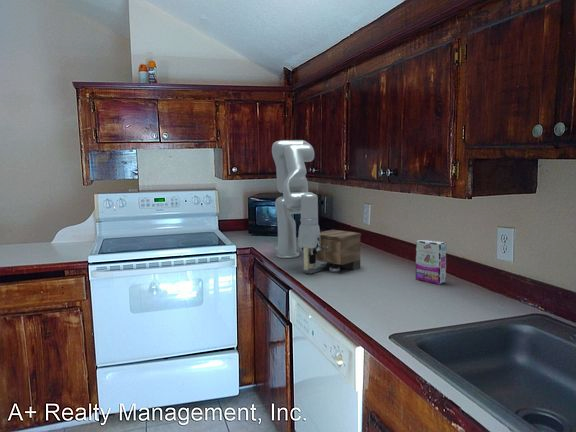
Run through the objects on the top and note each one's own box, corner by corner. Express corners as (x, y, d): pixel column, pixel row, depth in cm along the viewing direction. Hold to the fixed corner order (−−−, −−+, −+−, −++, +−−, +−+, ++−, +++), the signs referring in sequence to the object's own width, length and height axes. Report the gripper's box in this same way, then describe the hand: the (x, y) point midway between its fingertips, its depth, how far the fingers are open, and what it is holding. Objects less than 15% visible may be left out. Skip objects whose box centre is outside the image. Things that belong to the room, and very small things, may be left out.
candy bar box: (446, 282, 172) (447, 242, 170) (439, 285, 168) (440, 243, 166) (421, 277, 180) (422, 238, 178) (414, 279, 177) (415, 240, 175)
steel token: (329, 272, 192) (328, 269, 192) (329, 269, 197) (329, 266, 197) (340, 271, 192) (340, 268, 191) (340, 268, 197) (340, 265, 196)
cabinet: (311, 268, 199) (311, 234, 197) (333, 262, 210) (333, 229, 208) (339, 274, 187) (339, 238, 185) (361, 267, 198) (361, 233, 196)
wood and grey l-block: (302, 272, 191) (302, 246, 190) (326, 266, 202) (326, 242, 201) (309, 273, 188) (308, 248, 187) (332, 267, 199) (332, 243, 198)
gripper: (290, 221, 192) (291, 261, 194) (317, 224, 180) (318, 267, 183) (302, 219, 197) (303, 258, 199) (329, 222, 186) (329, 264, 188)
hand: (310, 262), depth 191 cm, fingers closed on wood and grey l-block, 2 cm apart
